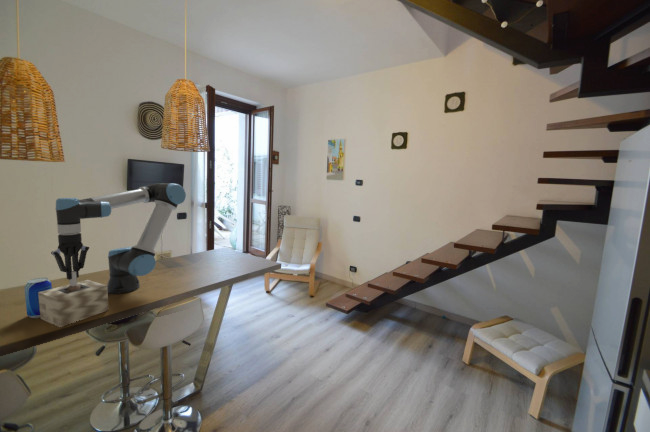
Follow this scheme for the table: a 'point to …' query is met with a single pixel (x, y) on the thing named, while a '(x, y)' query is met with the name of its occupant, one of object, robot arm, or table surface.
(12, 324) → the table surface
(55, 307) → the tissue box
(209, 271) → the table surface
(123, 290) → the robot arm
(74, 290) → the peg
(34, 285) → the beer can
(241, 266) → the table surface
